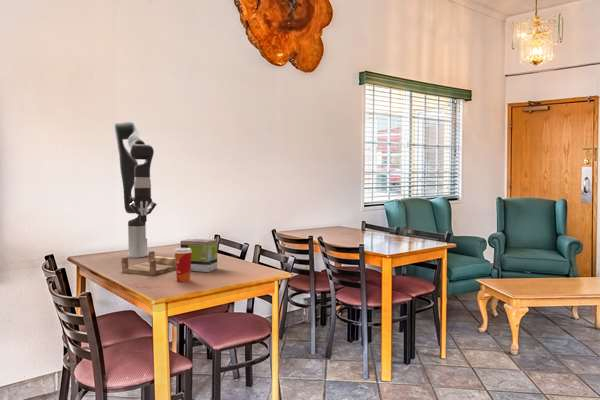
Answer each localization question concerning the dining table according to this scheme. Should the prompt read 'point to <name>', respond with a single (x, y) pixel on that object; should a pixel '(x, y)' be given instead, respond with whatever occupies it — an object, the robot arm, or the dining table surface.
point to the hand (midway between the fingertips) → (143, 223)
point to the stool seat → (146, 267)
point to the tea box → (202, 253)
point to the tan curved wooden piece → (163, 260)
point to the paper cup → (183, 264)
